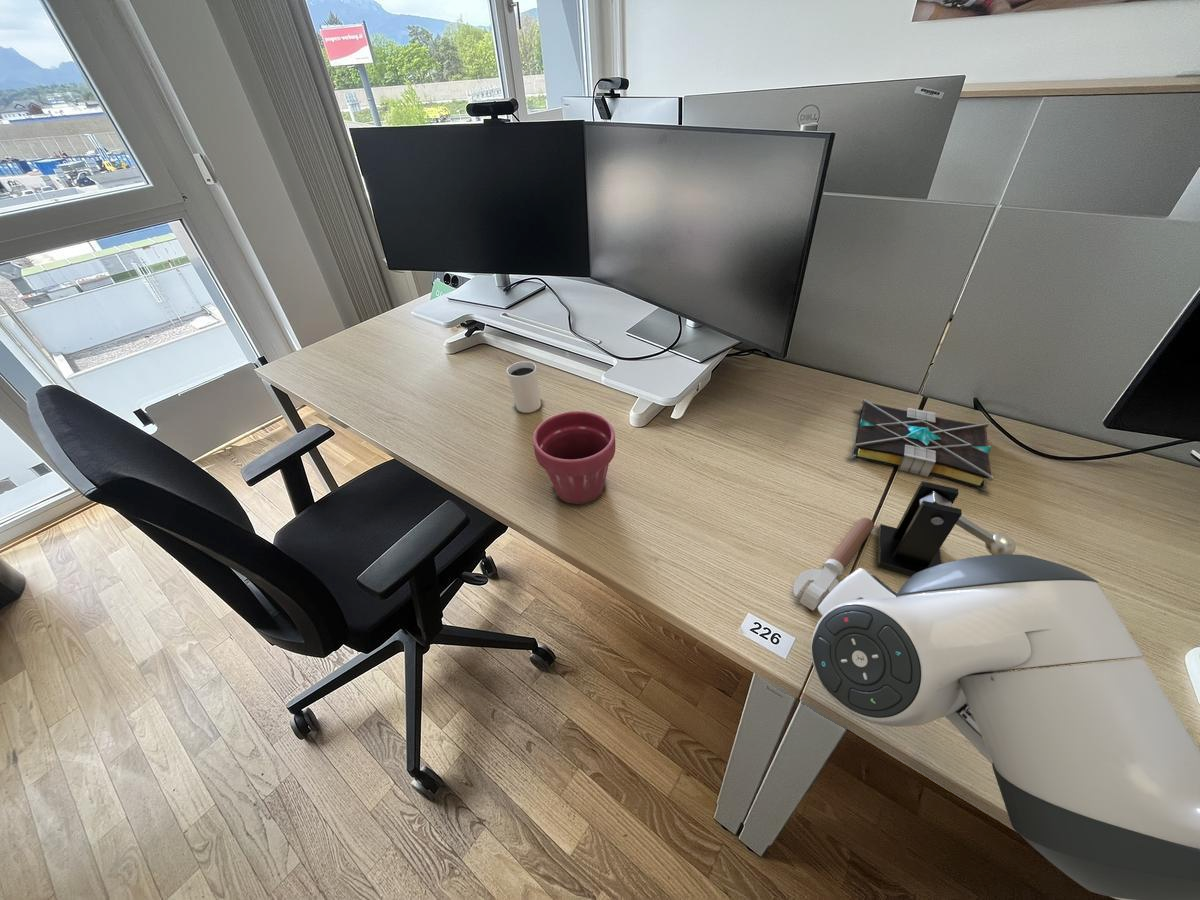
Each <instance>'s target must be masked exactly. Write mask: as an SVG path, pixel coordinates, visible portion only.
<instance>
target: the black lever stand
mask: <svg viewBox="0 0 1200 900" xmlns="http://www.w3.org/2000/svg"><path fill="white" fill-rule="evenodd" d="M933 491H934V492H936V493H938V494H939V495H941V496H943V497H944V498H946V499H948V500H949V501H951V503H952V505H953V504H954V503H955V502H956V499H957V498H958V497H959V495H960V493H959V492H960V491H959V488H957V487H956V488H955V487H950V486H946V485H942V484H937V483H932V482H927V481H923V480H921V481H920V483H919V485H918V487H917V489H916V490H915V492H914V494H913V496H912V498H911V500H910V502H909V503H908V505H907V508H906V510H905V511H904V513H903V515H902V517H901V519H900V520H899V523H898V524H897V527H893V526H890V525H886V524H882V523H881V524H879V527H878V530H877V568H880V569H884V570H887V571H891V572H895V573H898V574H901V575H905V576H909V577H912V576H913V575H914V574H915V573H917V572H919V571H922V570H924V569H927V568H930V567H933V566H936V565H940V564H942V560H941V547H942V546H943V544H944V543H945V542H946V539H948V536H949V535H950V533H951V532H952V530H953V528H954V527H955V526H956V522H957V521H958V519H959V518H960V516H963V515H962V514H963V513H962V508H957V507H953V506H952V507H949V506H945V505H941V504H936V503H932V502H928V501H922V503H921V505H920V501H919V500H920V499H921V498H923V497H925V496H926V495H928V494H930V493H931V492H933Z"/></svg>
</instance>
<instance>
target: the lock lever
mask: <svg viewBox="0 0 1200 900" xmlns="http://www.w3.org/2000/svg"><path fill="white" fill-rule="evenodd" d="M919 501H920V505H921V503H922V501H928V502H932V503H936V504H941V505H945V506H949V507H953V504H952V503H951V501H949V500H948V499H946V498H944V497H943V496H941V495H939V494H938V493H936V492H934V491H933V492H931V493H930V494H928V495H926V496H925V497H923V498H921V499H920V500H919ZM955 526H957V527H959V528H961V529H962V530H964V531H966V532H967V533H969V534H971V535H972V536H974V537H975V538H977V539H979V540H980V541H982V542H984V548H985V550H986V551H987V552H988V553H989V555H997V554H1014V553H1015V551H1016V547H1017V546H1016V542H1015V541H1014V539H1013V538H1012V537H1011V536H1009V535H1007V534H1005V533H990V532H989V531H988V530H986V529H984V528H983V527H981V526H979V525H978V524H976V523H974V522H972V521H971V520H969V519H967V518H966V517H965V516H963V515H961V516H960V518H959V519H958V521H957V522H956V524H955Z"/></svg>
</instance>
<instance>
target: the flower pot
mask: <svg viewBox="0 0 1200 900" xmlns="http://www.w3.org/2000/svg"><path fill="white" fill-rule="evenodd" d="M532 443H533V451H534V456H535V460H536V462H537V464H538V465H539V466H540V467H541V468H542V469H544V470H545V472H546V474H547V476H548V478H549V480H550V482H551V484H552V486H553V488H554V490H555V492H556V494H557V496H558V497H559V498H560V499H561V500H562V501H563V502H566V503H569V504H573V505H583V504H587V503H590V502H592V501H594V500H596V499H597V498H599V496H600V495H601V494H602V492H603V491H604V487H605V483H606V479H607V475H608V474H607V473H608V469H609V466H610V465H609V464H610V463H611V462H612V460H613V458H614V456H615V454H616V434H615V429H614V427H613V425H612V424H611V423H610V421H609V420H607V419H606V418H605V417H603V416H601V415H600V414H597V413H594V412H590V411H583V410H572V411H565V412H561V413H557V414H554V415H552V416H549V417H548V418H547V419H545V420H543V421H542V422H541V423H540V424H539V425H538V426H537V427H536V429H535V430H534V432H533V436H532Z"/></svg>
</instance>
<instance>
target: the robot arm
mask: <svg viewBox="0 0 1200 900" xmlns="http://www.w3.org/2000/svg"><path fill="white" fill-rule="evenodd" d="M817 610H819V611H818V612H819V614H820V615H821V617H820V618H819V620H818V622H817V623H816V625H815V627H814V630H813V633H812V637H811V644H810V645H811V647H810V648H811V649H810V650H811V651H810V652H811V660H812V664H813V668H814V671H815V673H816V676H817V678H818V680H819V682H820V684H821V686H822V687H823V688H824V690H825V691H826V693H827V694H828V695H829V697H830V698H831V699H832V700H833V701H834V702H835V703H836V704H837V705H838V706H839V707H840V708H842V709H843V710H845V712H847V713H849V714H851V715H852V716H855V717H856V718H858V719H861V720H863V721H865V722H869V723H872V724H875V725H879V726H880V725H881V726H884V727H894V728H907V727H908V728H909V727H910V728H911V727H916V726H922V725H925V724H929V723H931V722H934V721H937V720H938V719H941V718H946V719H947V720H948V721H949V722H950V723H951V724H952V725H953V726H954V727H955V728H956V729H957V730H958V731H959V732H960V733H961V734H962V736H963V737H965V739H966V740H967V741H968V742H969V743H970V744H972V746H973V747H974V748H975V749H976V750H977V751H978V752H979V753H980V754H981V755H982V756H983V757H984V758H985V759H986V760H987V761H988V762H989V763H990V764H991V767H992V771H993V773H994V774H993V775H994V776H995V779H996V782H997V783H996V784H997V786H998V788H999V791H1000V794H1001V797H1002V800H1003V803H1004V807H1005V809H1006V812H1007V816H1008V818H1009V821H1010V825H1011V827H1012V829H1013V830H1014V831H1015V832H1016V833H1017V834H1018V835H1019V836H1020V837H1022V839H1024V840H1025V841H1026V842H1027V843H1028V844H1029V845H1030V846H1031V847H1032V848H1033V849H1035V850H1036V851H1037V852H1038V853H1040V855H1041V856H1042V857H1044V858H1045V860H1047V861H1048V862H1049V863H1051V864H1052V865H1053V866H1054V867H1056V868H1057V869H1058V870H1060V871H1061V872H1062V873H1063V874H1064V875H1066V876H1067V877H1069V878H1070V879H1072V880H1073V881H1074V882H1075V883H1077V884H1078V885H1080V886H1081V887H1083V889H1086V890H1087V891H1089V892H1091V893H1094V894H1097V895H1102V896H1106V897H1110V898H1112V899H1115V900H1200V748H1199V746H1198V744H1197V743H1196V741H1195V740H1194V738H1193V737H1192V735H1191V733H1190V732H1189V730H1188V729H1187V727H1186V725H1185V724H1184V722H1183V720H1182V719H1181V717H1180V715H1179V714H1178V713H1177V711H1176V709H1175V708H1174V706H1173V704H1172V703H1171V701H1170V699H1169V698H1168V696H1167V694H1166V692H1165V691H1164V690H1163V688H1162V686H1161V684H1160V683H1159V682H1158V680H1157V677H1155V675H1154V673H1153V672H1152V670H1151V668H1150V667H1149V665H1148V663H1147V662H1146V659H1145V658H1143V657H1145V655H1144V653H1143V652H1142V650H1141V649H1140V647H1139V645H1138V643H1137V642H1136V641H1135V638H1134V637H1133V635H1132V633H1131V632H1130V631H1129V629H1128V627H1127V626H1126V624H1125V622H1124V620H1123V619H1122V618H1121V616H1120V615H1119V613H1118V612H1117V610H1116V608H1115V606H1114V605H1113V604H1112V602H1111V601H1110V599H1109V597H1108V596H1107V594H1106V593H1105V591H1104V590H1103V588H1102V587H1101V585H1100V584H1099V581H1098V580H1096V579H1095V578H1093V577H1091V576H1089V575H1088V574H1086V573H1084V572H1082V571H1079V570H1077V569H1075V568H1073V567H1069V566H1066V565H1064V564H1060V563H1058V562H1055V561H1051V560H1047V559H1043V558H1040V557H1036V556H1032V555H1027V554H1014V553H1013V554H997V555H992V554H987V555H978V556H973V557H966V558H960V559H955V560H952V561H948V562H947V561H946V562H944V563H941V564H940V565H936V566H933V567H930V568H927V569H924V570H922V571H919V572H917V573H915V574H914V575H913V576H910V578H908V579H907V580H906V581H905V582H904V583H903V584H902V586H900V588H899V590H898V591H897V592H896V591H894V590H893V589H892V588H891V587H889V586H888V585H886V584H885V583H884V581H881V579H879V578H878V577H877V576H876V575H874V574H872V573H871V572H870V571H869V570H867V569H865V568H863V567H859V568H857V569H856V570H854V571H852V572H851V573H850V574H849V575H847V576H846V577H845V578H844V579H843V580H841V581H840V582H839V584H838V585H837V586H836V587H835V588H834V589H833V590H832V591H831V592H830V593H828V594H827V595H826V596H824V598H823V599H822V600H821V601H820V602H819V604H818V605H817Z"/></svg>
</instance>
